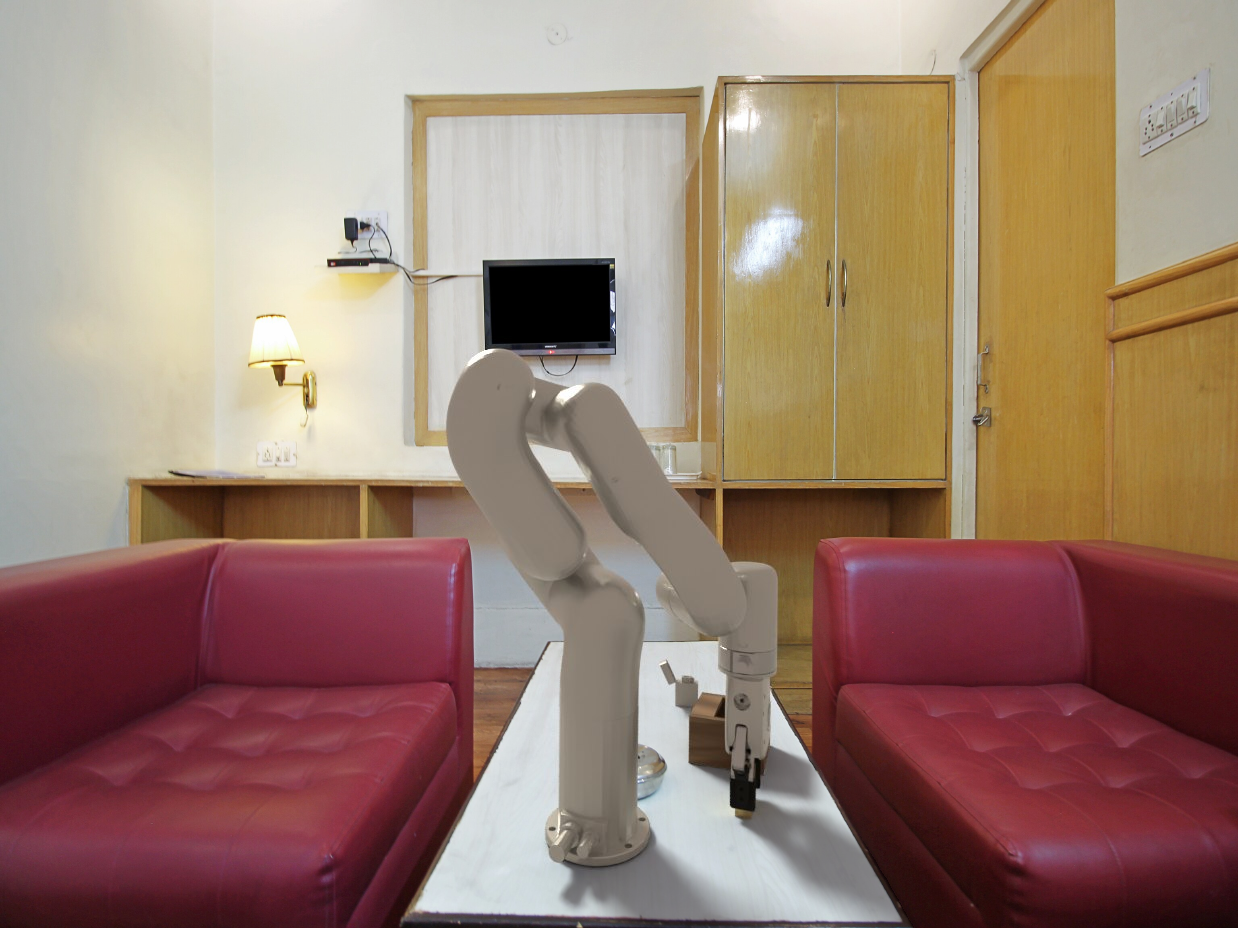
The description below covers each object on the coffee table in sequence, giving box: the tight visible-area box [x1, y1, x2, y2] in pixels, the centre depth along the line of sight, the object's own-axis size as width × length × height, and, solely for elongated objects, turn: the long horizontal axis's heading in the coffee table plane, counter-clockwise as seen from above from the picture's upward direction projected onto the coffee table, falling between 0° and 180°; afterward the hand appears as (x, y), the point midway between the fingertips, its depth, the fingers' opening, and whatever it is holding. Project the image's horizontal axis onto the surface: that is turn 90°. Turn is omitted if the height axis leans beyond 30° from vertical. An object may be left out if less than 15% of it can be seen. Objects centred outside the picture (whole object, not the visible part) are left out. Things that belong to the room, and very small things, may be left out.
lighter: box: [659, 659, 699, 708], centre depth 114 cm, size 7×2×8 cm, turn 82°
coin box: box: [687, 691, 772, 776], centre depth 95 cm, size 10×11×7 cm
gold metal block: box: [734, 760, 756, 820], centre depth 81 cm, size 5×2×5 cm, turn 161°
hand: (745, 795), depth 81 cm, fingers closed on gold metal block, 4 cm apart
